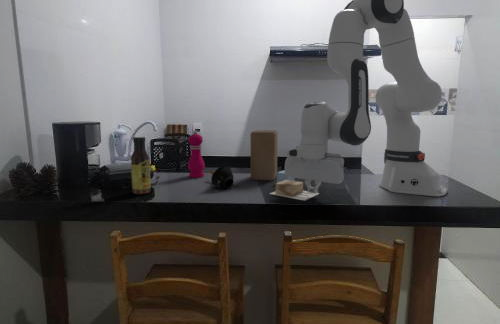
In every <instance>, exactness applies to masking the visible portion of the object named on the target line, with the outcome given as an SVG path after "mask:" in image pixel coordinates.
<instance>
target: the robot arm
mask: <svg viewBox="0 0 500 324" xmlns="http://www.w3.org/2000/svg"><path fill="white" fill-rule="evenodd" d="M404 7H405V2H404V0H351V1H350V2H349V3H348V4H347V5H346V6H345V7H344V8H343V10H340V11H339V12H337V13H336V15H335V16H334V17H333V21H332V24H331V26H330V27H331V28H330V32H329V37H328V44H327V56H326V58H327V64H328V66H329V68H330V70H332V71H333V72H334V73H336V74H337V75H338V76H341V77H343V78H344V79H345V81H346V83H347V86H348V89H347V90H348V94H347V95H348V96H347V97H348V99H347V100H348V106H347V107H348V109H347V111H346V112H342V111H341V112H340V111H338V110H336V109H334V108H332V107H331V106H330V105H328V103H327V102H326V101H316V102H315V101H314V102H309V103H307V104H305V105H304V106H303V108H302V112H301V116H300V117H301V118H300V132H301V133H300V134H301V138H300V145H299V146H296V147H294V148H290V149H287V150H286V156H287V157H286V159H285V162H284V170H285V175H286V176H287V177H294V178H295V179H301V180H304V184H305V186H306V187H307V190H306V191H307V192H308V193H314V194H316V193H319V192H318V191H319V190H318V189H319V187H320V186H321V184H322V183H329V184H335V185H336V184H337V185H338V184H341V183H342V182H343V181H344V179H345V177H344V176H345V174H344V173H345V172H344V166H345V159H344V157H343V156H341V154H338V153H335V154H334V153H328V150H329V149H328V146H329V145H328V144H329V141H335V142H338V143H343V144H347V145H351V146H360V145H361V144H363V143H364V142H365V141H366V140H367V139H368V138H369V137H370V135H371V130H372V123H371V118H370V112H369V111H370V110H369V109H370V107H369V105H370V104H369V101H370V100H369V98H370V97H369V96H370V95H369V94H370V92H369V87H370V86H369V83H370V82H369V69H368V66H367V63H366V62H365V61H364V42H365V33H366V31H367V30H372V29H375V30H376V32H377V33H378V34H377V35H378V42H379V49H380V54H381V59H382V65H383V68H384V70H385V71H386V72H388V73H389V74H390V75H391V76H392V77H393V78H394V80H395V81H391V82H389V83H386V84H384V85H381V86H380V87H379V88H378V89H377V91H376V92H375V103H376V105H377V106H378V108H380V110H381V112H382V114H383V117H384V120H385V125H386V148H385V149H384V152H383V154H384V156H383V163H384V167H383V172H382V175H381V176H382V177H381V178H380V182H379V185H378V186H379V187H381V188H382V189H385V190H387V191H389V192H391V193H399V194H409V195H417V196H426V197H427V196H428V197H442V196H445V195H446V194H447V192H448V189H447V187H445V186H444V185H443V186H442V185H441V177H440V174H439V173H438V172H437V171H436V170H435V169H434V168H432V167H431V166H430V165H429V164H428V163H426V162H425V159H426V153H425V152H423V151H422V150H420V143H421V142H420V141H421V129H420V126H419V125H418V124H417V123H416V122H415V121H414V118H413V117H412V113H423V112H427V111H432V110H435V109H436V108H437V107H438V106H439V105H440V103H441V101H442V97H443V91H442V88H441V86H440V84H439V83H438V82H436V81H434V79H432V78H431V77H430V76H429V75H428V74H427V72H426V71H425V69H424V68H423V66H422V64H421V62H420V59H419V56H418V49H417V43H416V37H415V32H414V28H413V25H412V22H411V18H410V16H409V13H408V11H407V9H405V8H404ZM312 181H314V184H315V185H314V186H312V184H311V182H312Z"/></svg>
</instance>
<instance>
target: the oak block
mask: <svg viewBox="0 0 500 324" xmlns="http://www.w3.org/2000/svg"><path fill="white" fill-rule="evenodd" d="M275 191H276V193H277V194H283V195H288V196H295V195H297V194H300V193H302V192H303V191H304V182H303V181H296V180H295V181H291V180H284V181H281V182H278V183H277V182H276V183H275Z"/></svg>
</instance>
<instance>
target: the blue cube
mask: <svg viewBox="0 0 500 324" xmlns="http://www.w3.org/2000/svg"><path fill="white" fill-rule="evenodd" d="M295 179H296V178H294V177H287V176H286V175H285V169H284V170H281V171H280V170H279V171H277V176H276V183H278V182H281V181H284V180H291V181H296V180H295Z"/></svg>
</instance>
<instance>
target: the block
mask: <svg viewBox="0 0 500 324" xmlns="http://www.w3.org/2000/svg"><path fill="white" fill-rule="evenodd" d="M277 172H278V131H277V130H274V129H273V130H271V129H270V130H267V129H266V130H265V129H264V130H263V129H260V130H259V129H256V130H254V131H252V132H250V179H251V180H252V181H275V179H277Z"/></svg>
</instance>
